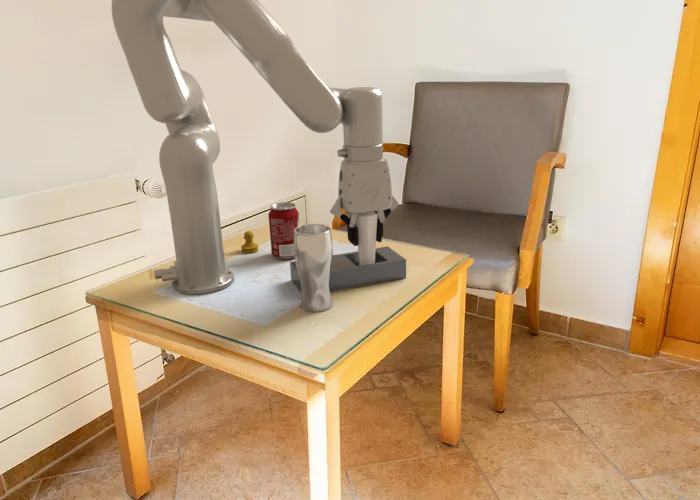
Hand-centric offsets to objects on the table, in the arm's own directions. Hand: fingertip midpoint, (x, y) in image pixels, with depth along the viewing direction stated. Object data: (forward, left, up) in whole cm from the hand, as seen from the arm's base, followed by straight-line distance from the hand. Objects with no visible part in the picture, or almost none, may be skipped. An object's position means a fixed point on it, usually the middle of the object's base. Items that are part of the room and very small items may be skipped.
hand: (365, 241), depth 122 cm
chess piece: (-19, +26, -8) cm, 33 cm away
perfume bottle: (0, 0, -7) cm, 7 cm away
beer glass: (-14, -9, -8) cm, 19 cm away
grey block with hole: (-4, 0, -8) cm, 9 cm away
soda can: (-12, +19, -8) cm, 24 cm away
